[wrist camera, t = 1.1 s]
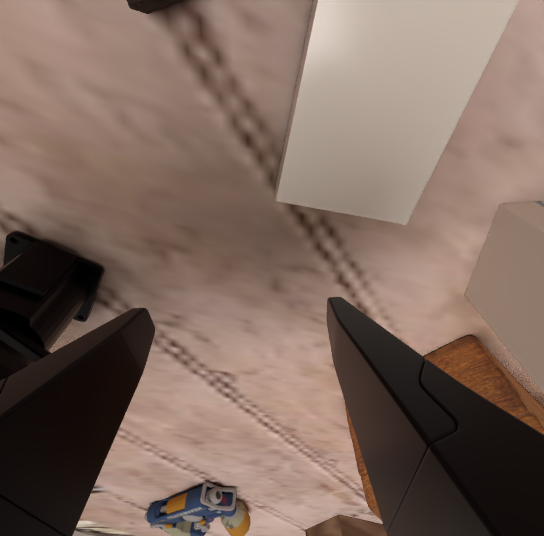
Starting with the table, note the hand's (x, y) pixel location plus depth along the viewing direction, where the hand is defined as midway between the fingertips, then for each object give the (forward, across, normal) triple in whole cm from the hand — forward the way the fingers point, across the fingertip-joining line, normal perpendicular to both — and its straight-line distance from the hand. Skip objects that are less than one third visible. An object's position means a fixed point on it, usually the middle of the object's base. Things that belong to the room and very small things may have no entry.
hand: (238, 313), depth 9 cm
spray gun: (+13, -15, -58) cm, 61 cm away
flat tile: (+12, +6, +4) cm, 14 cm away
